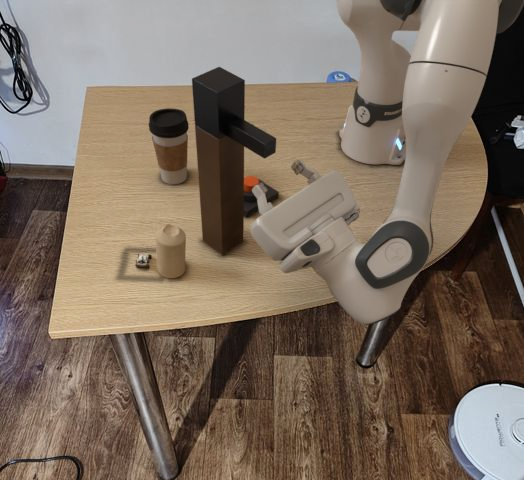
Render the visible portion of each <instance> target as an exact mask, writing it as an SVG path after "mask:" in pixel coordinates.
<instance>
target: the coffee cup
mask: <svg viewBox="0 0 524 480" xmlns="http://www.w3.org/2000/svg"><path fill="white" fill-rule="evenodd" d="M189 128H190V127H189V121H188V117H187V114H186V112H185V111H184V110H182V109H179V108H160V109H156V110H155V111H153V112H152V113H151V114H149V120H148V129H149V132H150V133H151V139H152V144H153V148H154V153H155V157H156V161H157V164H158V168H159V173H160V178H161V180H162V181H163V182H164V183H166V184H168V185H179V184H182V183H184V182H185V181H186V180H187V178H188V149H189V148H188V146H189V145H188V143H189V142H188V141H189V135H188V131H189Z"/></svg>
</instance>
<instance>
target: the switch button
mask: <svg viewBox="0 0 524 480" xmlns="http://www.w3.org/2000/svg"><path fill="white" fill-rule="evenodd" d="M258 179H259V178H258V177H257V176H255V175H254V176H253V175H248V176H244V191H246V192H252V189H253V187H254V186H256V185H257V184H259V180H258Z"/></svg>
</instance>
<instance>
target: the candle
mask: <svg viewBox="0 0 524 480" xmlns="http://www.w3.org/2000/svg"><path fill="white" fill-rule="evenodd" d="M186 246H187V234H186V232H185V231H184V229H182V228H180V227H179V226H177V225H172V224H170V223H168V224H165V225H164V226H162V227H160V228H159V229H158V230H157V231H156V232H155V253H156V269H157V272H158V274H159V275H161V276H162V277H163V278H167V279H175V278H179V277H181V276H183V274H184V272H185V270H186V251H187V250H186Z"/></svg>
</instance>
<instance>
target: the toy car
mask: <svg viewBox="0 0 524 480" xmlns="http://www.w3.org/2000/svg"><path fill="white" fill-rule="evenodd" d="M152 259H153V256H152V254H150V253H149V252H139V253H138V254H137V259H136V260H135V265H134V266H135V268H136V269H137V268H138V269H150V264H149V262H150V260H152Z"/></svg>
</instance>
